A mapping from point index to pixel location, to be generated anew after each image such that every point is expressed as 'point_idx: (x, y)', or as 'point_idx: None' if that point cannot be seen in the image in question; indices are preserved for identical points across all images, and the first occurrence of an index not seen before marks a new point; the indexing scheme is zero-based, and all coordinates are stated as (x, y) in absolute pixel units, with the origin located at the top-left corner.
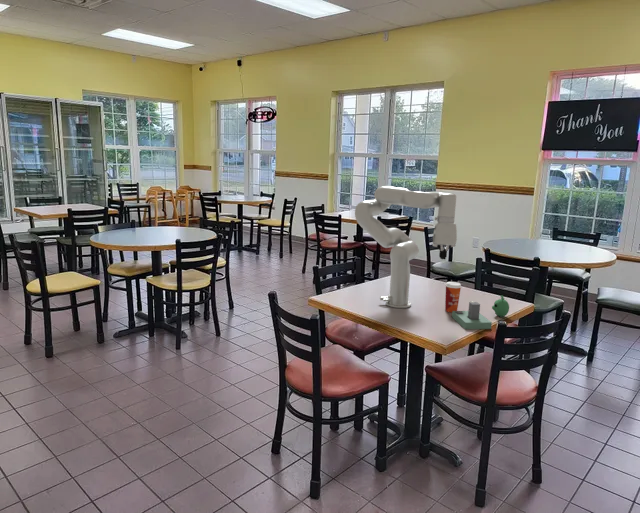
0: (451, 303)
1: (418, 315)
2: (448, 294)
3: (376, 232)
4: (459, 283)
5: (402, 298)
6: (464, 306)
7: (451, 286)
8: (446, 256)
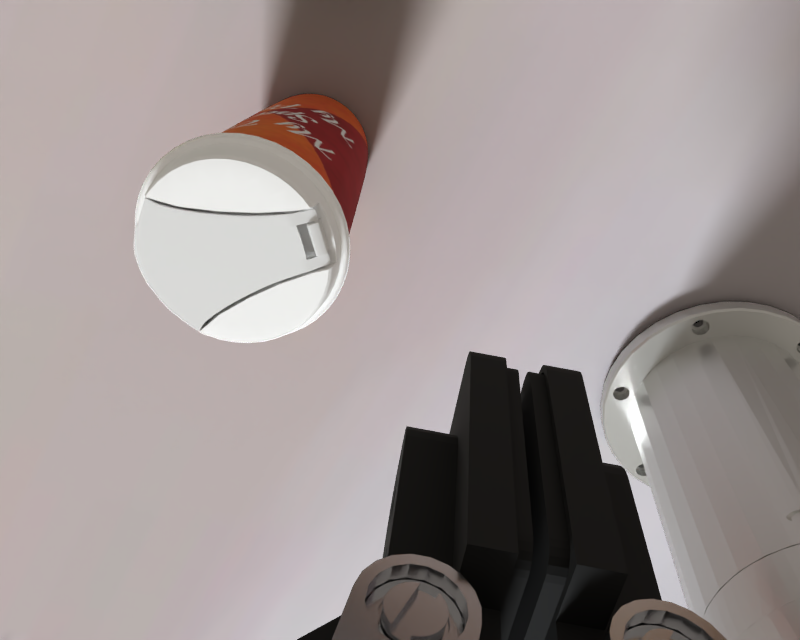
0: (327, 118)
1: (722, 80)
2: (343, 174)
3: None
4: (143, 243)
5: (764, 371)
6: (127, 246)
7: (302, 180)
8: (407, 433)
